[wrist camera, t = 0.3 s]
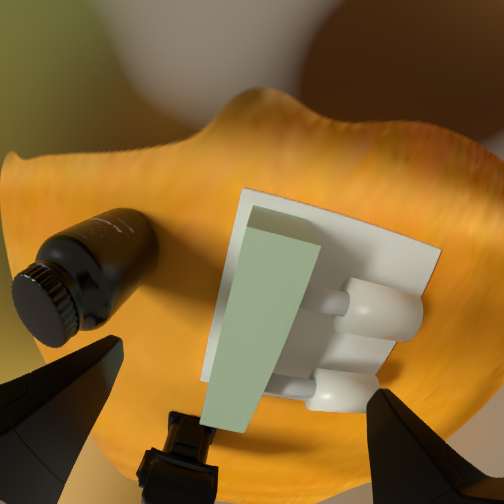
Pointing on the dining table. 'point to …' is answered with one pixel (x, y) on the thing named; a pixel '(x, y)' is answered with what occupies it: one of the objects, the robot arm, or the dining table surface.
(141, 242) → the supplement bottle
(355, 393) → the knob
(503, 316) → the dining table surface
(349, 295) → the knob
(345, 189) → the dining table surface
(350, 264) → the mount
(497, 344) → the dining table surface
